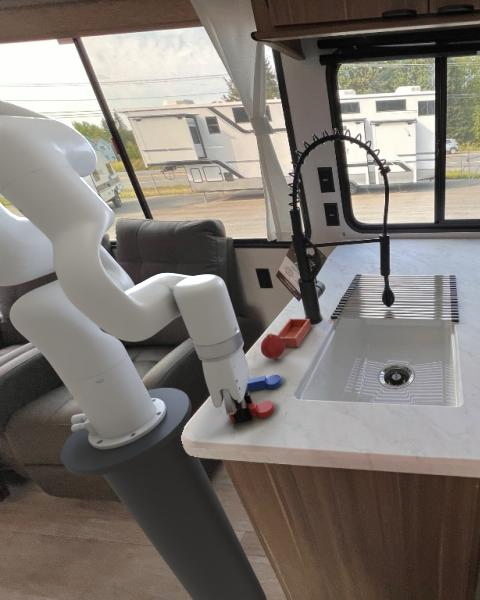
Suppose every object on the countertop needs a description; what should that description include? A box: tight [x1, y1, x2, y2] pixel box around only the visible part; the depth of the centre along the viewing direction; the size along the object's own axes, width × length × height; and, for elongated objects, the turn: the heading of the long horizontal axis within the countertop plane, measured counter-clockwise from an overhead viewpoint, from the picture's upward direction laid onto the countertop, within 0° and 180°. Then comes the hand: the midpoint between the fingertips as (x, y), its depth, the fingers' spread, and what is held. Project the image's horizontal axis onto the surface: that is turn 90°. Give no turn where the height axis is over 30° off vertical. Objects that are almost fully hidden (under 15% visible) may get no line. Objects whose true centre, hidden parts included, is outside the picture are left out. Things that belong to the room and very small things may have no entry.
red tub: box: [276, 318, 312, 348], centre depth 90 cm, size 11×6×3 cm, turn 175°
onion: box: [260, 332, 286, 360], centre depth 80 cm, size 6×6×8 cm
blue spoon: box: [247, 374, 283, 393], centre depth 72 cm, size 8×3×2 cm, turn 106°
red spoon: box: [228, 400, 275, 423], centre depth 64 cm, size 8×3×2 cm, turn 106°
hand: (245, 415), depth 64 cm, fingers closed on red spoon, 1 cm apart
